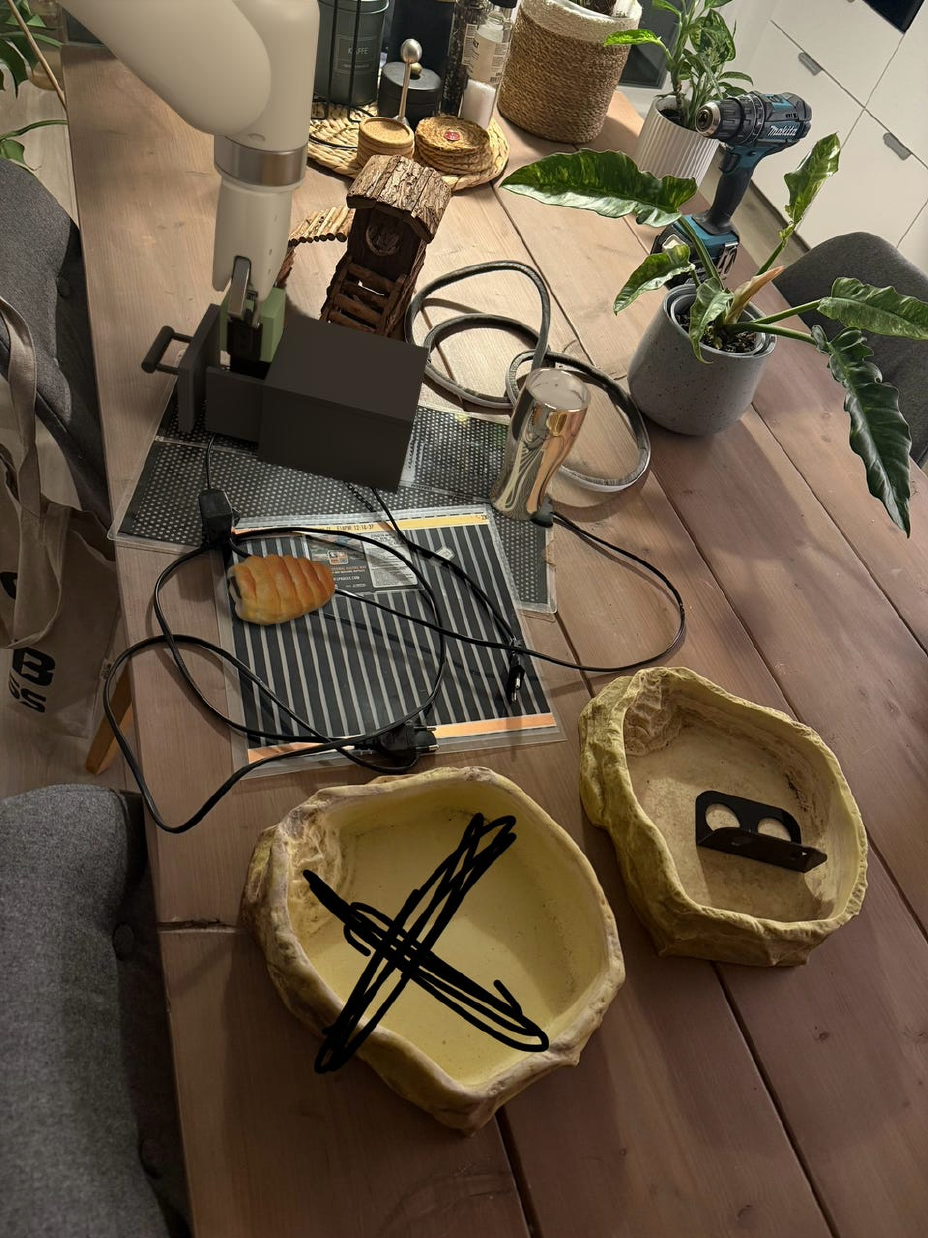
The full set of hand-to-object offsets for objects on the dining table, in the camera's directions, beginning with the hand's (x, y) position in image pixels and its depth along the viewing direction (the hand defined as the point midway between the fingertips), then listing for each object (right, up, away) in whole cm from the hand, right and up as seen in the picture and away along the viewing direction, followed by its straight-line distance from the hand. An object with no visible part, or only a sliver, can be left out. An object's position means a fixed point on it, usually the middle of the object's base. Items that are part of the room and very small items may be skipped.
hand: (251, 338), depth 86 cm
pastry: (+4, -26, -7) cm, 27 cm away
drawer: (-3, -5, +6) cm, 9 cm away
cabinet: (+7, -8, +9) cm, 14 cm away
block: (0, 0, 0) cm, 0 cm away
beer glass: (+26, -15, +9) cm, 32 cm away
